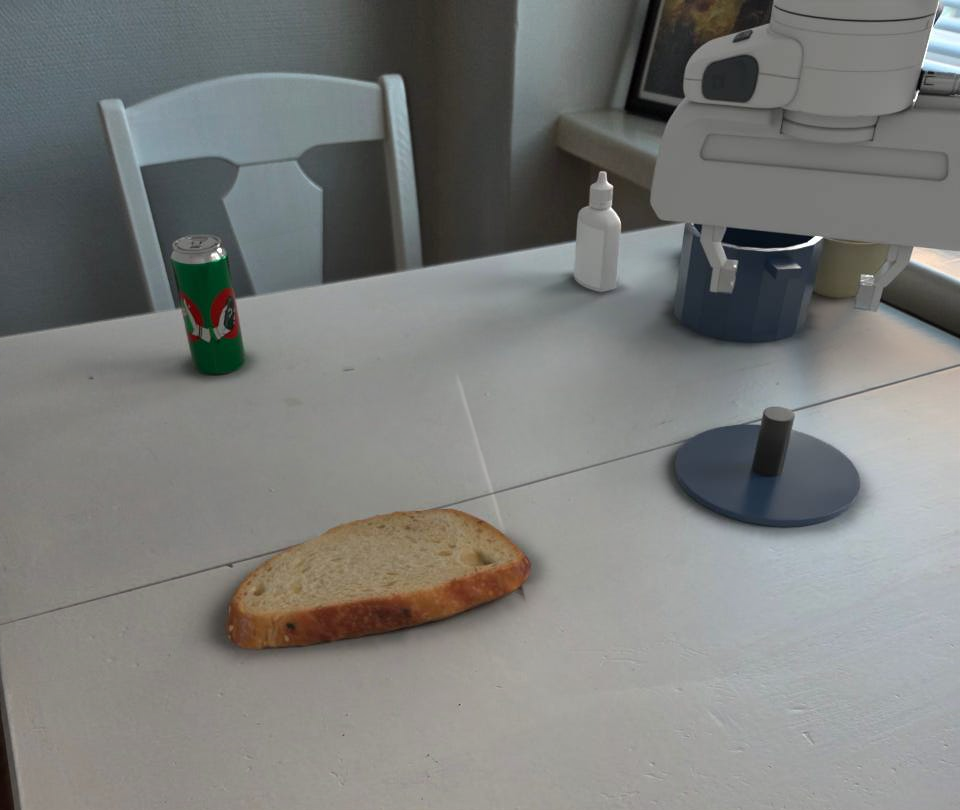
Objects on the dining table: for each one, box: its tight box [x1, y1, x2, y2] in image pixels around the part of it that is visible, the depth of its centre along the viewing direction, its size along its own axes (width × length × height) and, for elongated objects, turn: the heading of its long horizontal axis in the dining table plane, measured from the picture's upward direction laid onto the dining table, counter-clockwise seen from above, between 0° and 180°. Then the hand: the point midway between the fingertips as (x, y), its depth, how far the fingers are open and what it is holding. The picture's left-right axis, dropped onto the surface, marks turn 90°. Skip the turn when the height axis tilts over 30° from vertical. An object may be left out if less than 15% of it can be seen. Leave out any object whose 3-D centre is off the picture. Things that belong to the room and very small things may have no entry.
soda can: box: [170, 234, 247, 376], centre depth 92 cm, size 5×5×12 cm
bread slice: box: [225, 508, 532, 651], centre depth 68 cm, size 18×18×4 cm
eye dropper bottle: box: [573, 170, 622, 293], centre depth 107 cm, size 4×6×12 cm
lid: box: [674, 406, 861, 528], centre depth 78 cm, size 15×15×6 cm
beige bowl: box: [812, 237, 888, 299], centre depth 107 cm, size 10×10×7 cm
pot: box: [672, 223, 825, 344], centre depth 101 cm, size 14×19×10 cm
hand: (792, 298), depth 66 cm, fingers open, 8 cm apart
